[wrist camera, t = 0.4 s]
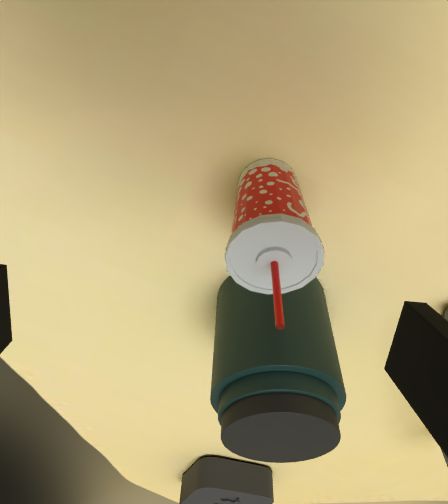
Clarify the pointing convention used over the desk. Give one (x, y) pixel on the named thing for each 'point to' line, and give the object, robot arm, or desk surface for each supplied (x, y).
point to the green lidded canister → (276, 375)
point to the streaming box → (226, 483)
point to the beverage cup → (272, 234)
